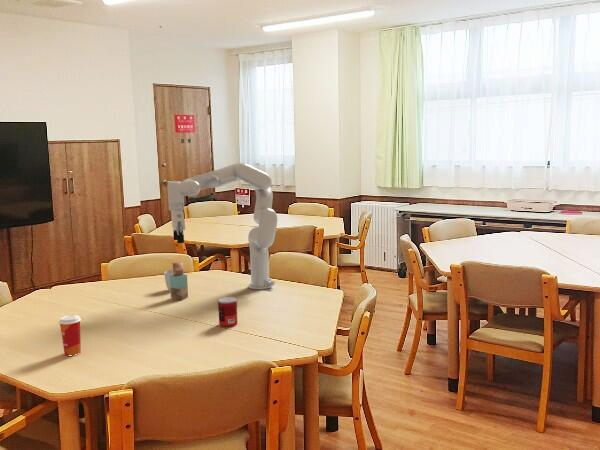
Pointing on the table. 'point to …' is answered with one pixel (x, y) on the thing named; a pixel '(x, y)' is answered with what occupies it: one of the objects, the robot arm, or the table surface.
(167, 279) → the cup
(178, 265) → the drum
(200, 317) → the table surface
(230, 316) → the canned food
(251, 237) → the robot arm
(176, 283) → the tower top
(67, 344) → the paper cup
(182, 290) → the tower bottom
